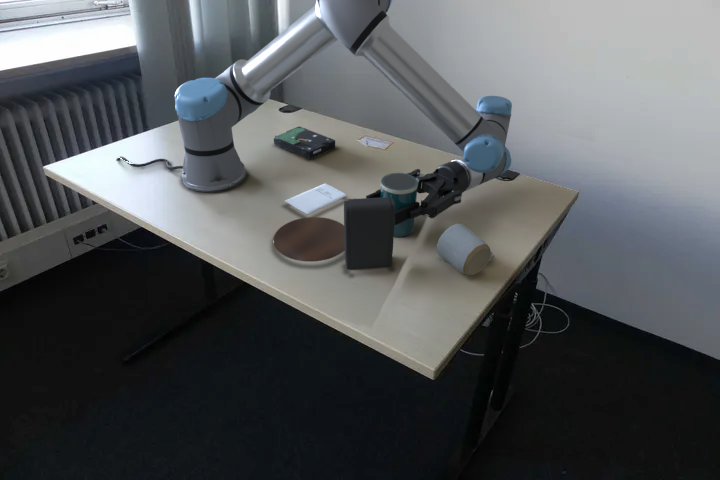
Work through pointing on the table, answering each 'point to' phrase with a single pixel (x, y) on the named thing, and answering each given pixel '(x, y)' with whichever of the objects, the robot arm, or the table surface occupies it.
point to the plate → (310, 239)
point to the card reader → (369, 232)
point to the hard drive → (315, 198)
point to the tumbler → (400, 197)
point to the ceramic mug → (464, 249)
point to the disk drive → (304, 142)
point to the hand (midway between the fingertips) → (380, 210)
